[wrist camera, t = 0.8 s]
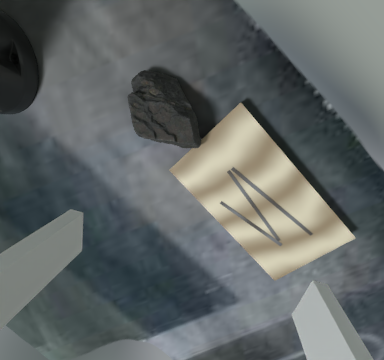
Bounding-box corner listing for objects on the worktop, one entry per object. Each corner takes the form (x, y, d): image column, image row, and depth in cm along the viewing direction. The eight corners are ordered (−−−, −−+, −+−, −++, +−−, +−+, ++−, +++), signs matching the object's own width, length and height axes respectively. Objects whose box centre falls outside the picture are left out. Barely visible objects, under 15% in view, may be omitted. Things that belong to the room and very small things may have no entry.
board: (171, 167, 31) (169, 170, 30) (240, 103, 27) (240, 102, 25) (272, 273, 34) (274, 280, 33) (349, 232, 30) (355, 238, 28)
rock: (137, 74, 29) (130, 142, 30) (127, 53, 23) (118, 137, 24) (206, 86, 30) (197, 151, 31) (213, 68, 24) (202, 148, 25)
